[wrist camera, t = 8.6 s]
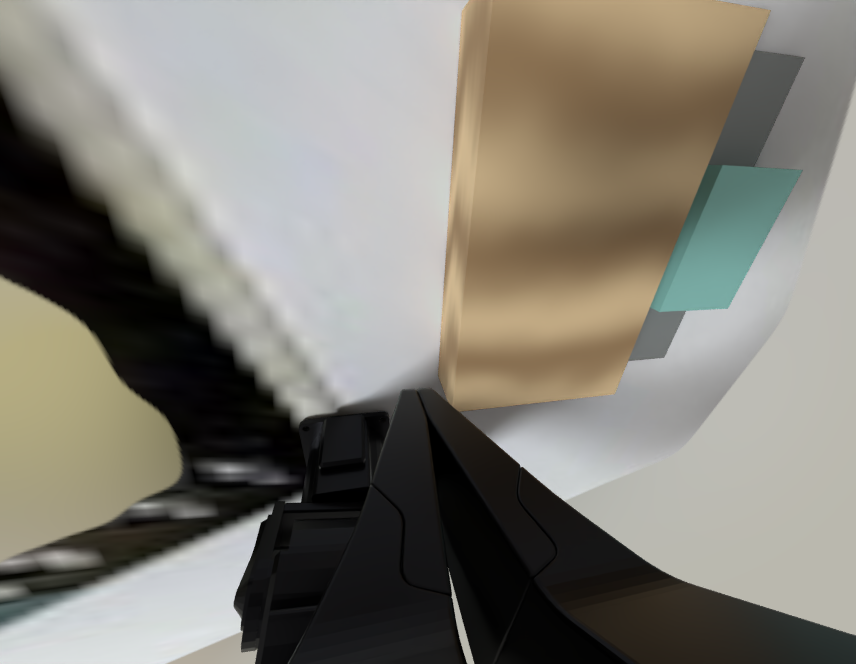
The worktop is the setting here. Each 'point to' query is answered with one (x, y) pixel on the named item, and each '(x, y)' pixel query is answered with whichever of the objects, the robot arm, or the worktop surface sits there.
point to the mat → (732, 162)
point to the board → (575, 182)
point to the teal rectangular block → (722, 236)
